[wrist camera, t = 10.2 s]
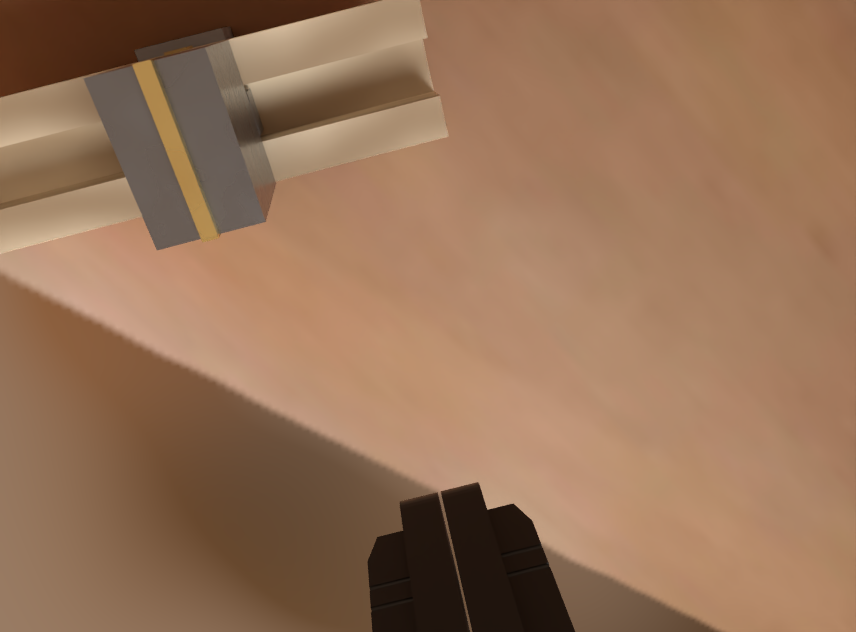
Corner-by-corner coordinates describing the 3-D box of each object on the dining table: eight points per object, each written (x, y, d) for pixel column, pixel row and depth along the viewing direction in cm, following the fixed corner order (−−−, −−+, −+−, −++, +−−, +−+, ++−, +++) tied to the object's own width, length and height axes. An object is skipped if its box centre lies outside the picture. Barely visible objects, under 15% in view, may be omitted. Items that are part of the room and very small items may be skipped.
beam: (-24, 90, 33) (-99, 108, 27) (399, -17, 33) (415, -22, 28) (44, 226, 36) (-10, 268, 30) (430, 125, 36) (451, 147, 31)
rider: (141, 60, 29) (79, 77, 21) (233, 36, 29) (203, 46, 22) (194, 197, 31) (155, 254, 24) (278, 175, 32) (265, 225, 24)
